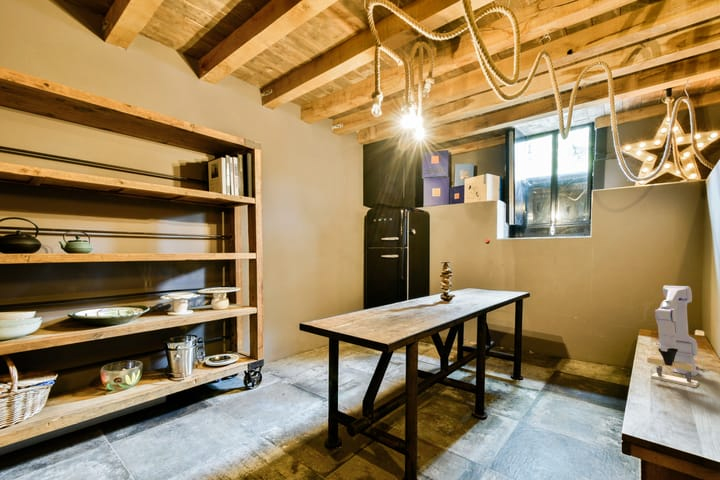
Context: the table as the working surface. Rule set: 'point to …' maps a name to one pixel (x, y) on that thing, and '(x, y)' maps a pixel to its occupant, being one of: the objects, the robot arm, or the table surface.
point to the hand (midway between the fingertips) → (669, 364)
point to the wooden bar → (674, 364)
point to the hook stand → (675, 378)
